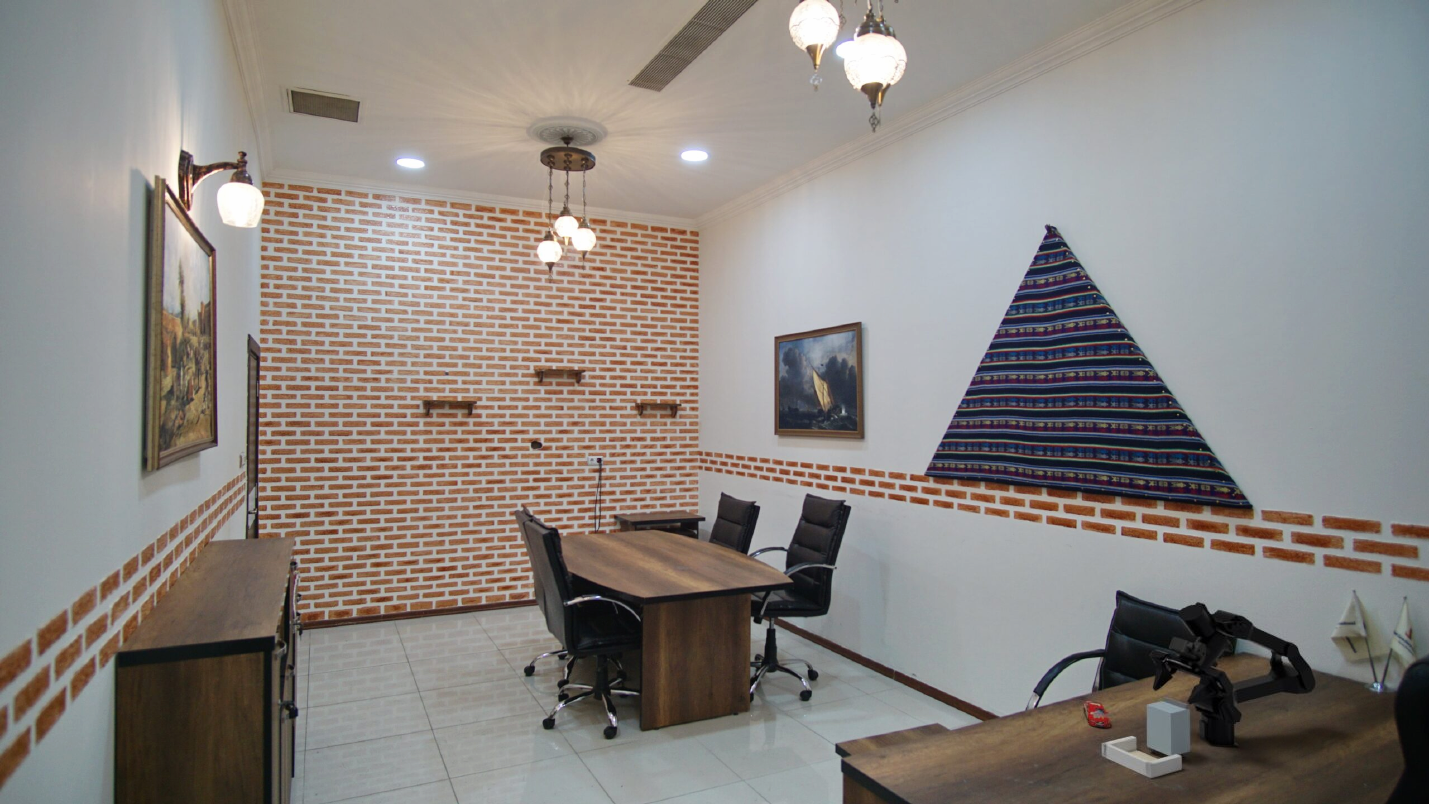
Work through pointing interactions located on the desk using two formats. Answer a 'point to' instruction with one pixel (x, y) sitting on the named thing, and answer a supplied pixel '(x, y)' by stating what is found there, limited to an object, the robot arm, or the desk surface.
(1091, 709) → the race car
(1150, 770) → the bay
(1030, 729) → the desk surface
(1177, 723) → the pale grey upright block
